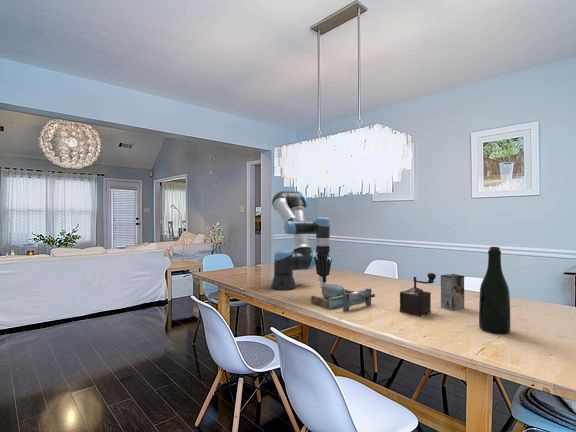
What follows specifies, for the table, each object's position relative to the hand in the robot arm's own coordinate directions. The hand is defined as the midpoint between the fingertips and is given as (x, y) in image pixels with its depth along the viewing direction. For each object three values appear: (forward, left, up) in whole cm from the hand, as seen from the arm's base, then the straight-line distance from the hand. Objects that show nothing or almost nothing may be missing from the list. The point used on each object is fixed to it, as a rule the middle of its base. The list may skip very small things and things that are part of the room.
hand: (322, 287), depth 178 cm
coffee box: (+53, +37, -5) cm, 65 cm away
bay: (+12, 0, -5) cm, 13 cm away
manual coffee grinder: (+46, +19, -5) cm, 50 cm away
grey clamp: (+25, +2, -5) cm, 26 cm away
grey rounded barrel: (+7, +1, -5) cm, 9 cm away
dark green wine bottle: (+78, +20, -5) cm, 81 cm away
